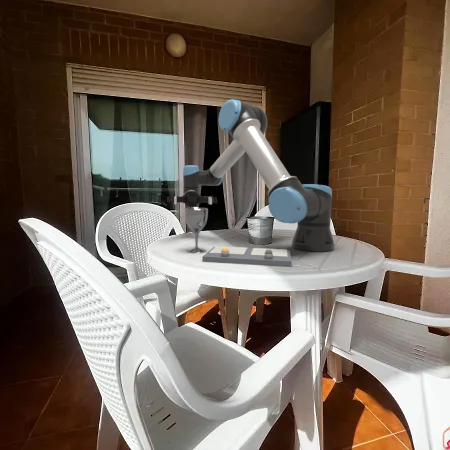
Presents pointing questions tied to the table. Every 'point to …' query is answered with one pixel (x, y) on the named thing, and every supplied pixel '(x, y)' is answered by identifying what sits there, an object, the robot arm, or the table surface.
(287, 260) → the indicator board
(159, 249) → the table surface
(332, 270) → the table surface
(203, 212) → the wine glass
